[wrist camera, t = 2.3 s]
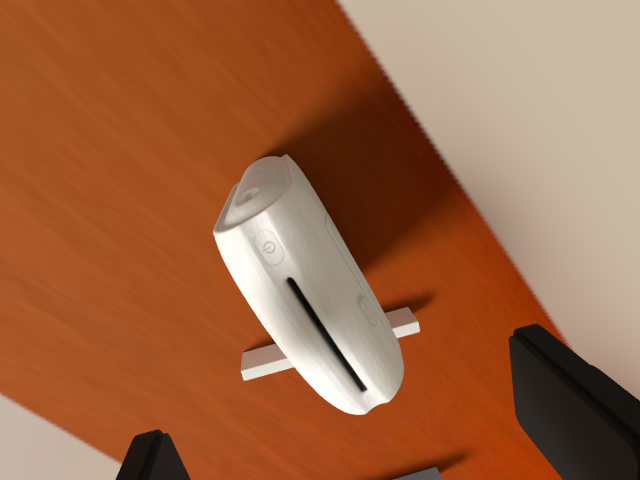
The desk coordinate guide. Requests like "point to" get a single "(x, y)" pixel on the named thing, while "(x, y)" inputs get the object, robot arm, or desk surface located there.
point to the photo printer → (308, 287)
